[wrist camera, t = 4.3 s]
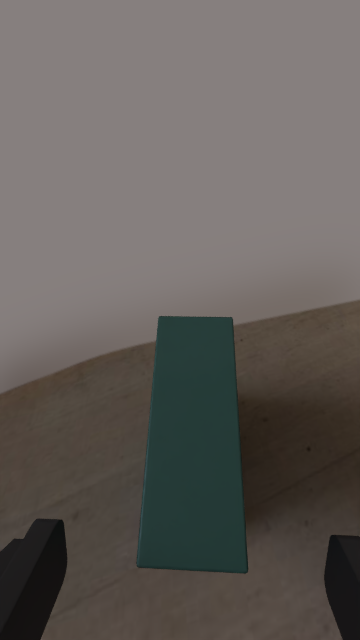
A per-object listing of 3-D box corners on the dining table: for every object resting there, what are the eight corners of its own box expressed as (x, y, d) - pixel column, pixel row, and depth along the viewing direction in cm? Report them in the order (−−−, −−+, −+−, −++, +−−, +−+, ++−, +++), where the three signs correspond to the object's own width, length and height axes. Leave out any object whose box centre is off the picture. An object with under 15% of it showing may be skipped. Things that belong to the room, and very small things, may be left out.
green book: (164, 536, 17) (135, 567, 8) (171, 393, 21) (158, 315, 12) (219, 539, 16) (249, 574, 8) (216, 394, 21) (233, 316, 12)
